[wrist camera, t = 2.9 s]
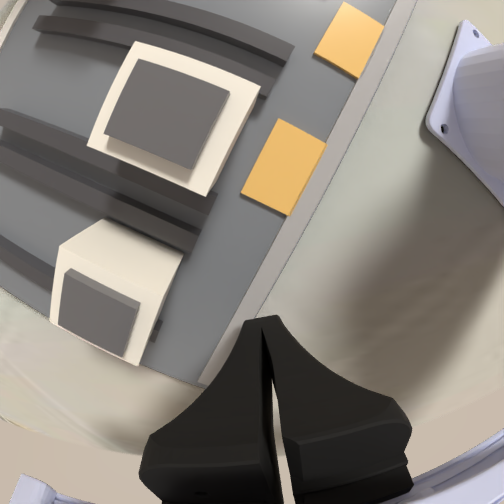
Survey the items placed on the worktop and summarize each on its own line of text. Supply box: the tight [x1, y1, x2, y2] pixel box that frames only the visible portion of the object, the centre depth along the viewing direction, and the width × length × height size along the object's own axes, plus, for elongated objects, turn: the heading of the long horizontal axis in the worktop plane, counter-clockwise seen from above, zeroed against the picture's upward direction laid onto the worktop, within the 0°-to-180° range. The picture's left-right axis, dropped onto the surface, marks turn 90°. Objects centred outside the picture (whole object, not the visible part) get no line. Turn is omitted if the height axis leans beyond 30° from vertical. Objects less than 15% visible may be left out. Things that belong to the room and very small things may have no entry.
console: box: [0, 0, 417, 389], centre depth 9 cm, size 18×22×2 cm
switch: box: [49, 217, 184, 366], centre depth 9 cm, size 4×3×4 cm
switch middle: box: [87, 41, 261, 197], centre depth 8 cm, size 4×3×4 cm
